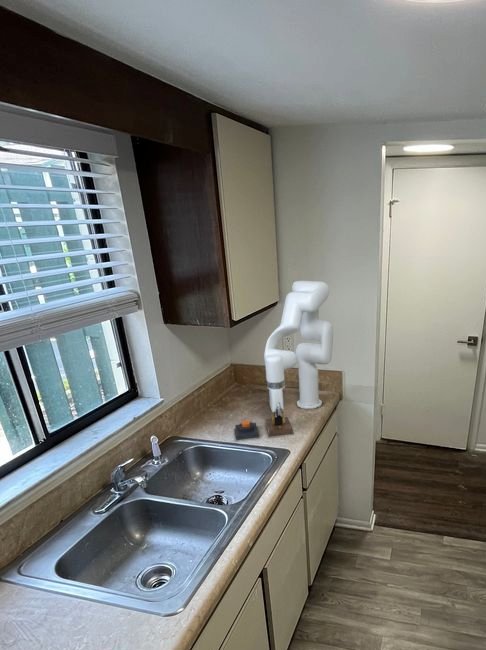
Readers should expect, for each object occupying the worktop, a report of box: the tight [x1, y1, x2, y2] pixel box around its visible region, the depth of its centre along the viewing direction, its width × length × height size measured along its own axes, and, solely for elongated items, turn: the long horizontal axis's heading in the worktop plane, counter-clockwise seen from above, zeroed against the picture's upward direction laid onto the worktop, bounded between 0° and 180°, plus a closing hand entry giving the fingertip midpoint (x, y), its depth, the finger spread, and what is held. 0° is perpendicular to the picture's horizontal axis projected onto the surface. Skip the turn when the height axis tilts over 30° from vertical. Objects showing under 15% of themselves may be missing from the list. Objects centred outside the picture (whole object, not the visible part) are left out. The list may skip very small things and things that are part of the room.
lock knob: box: [270, 410, 286, 425], centre depth 190 cm, size 6×2×5 cm, turn 105°
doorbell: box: [234, 421, 259, 441], centre depth 188 cm, size 11×9×4 cm
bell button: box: [241, 420, 251, 427], centre depth 187 cm, size 4×4×2 cm
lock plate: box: [265, 416, 293, 438], centre depth 192 cm, size 12×10×3 cm
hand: (278, 423), depth 191 cm, fingers closed
